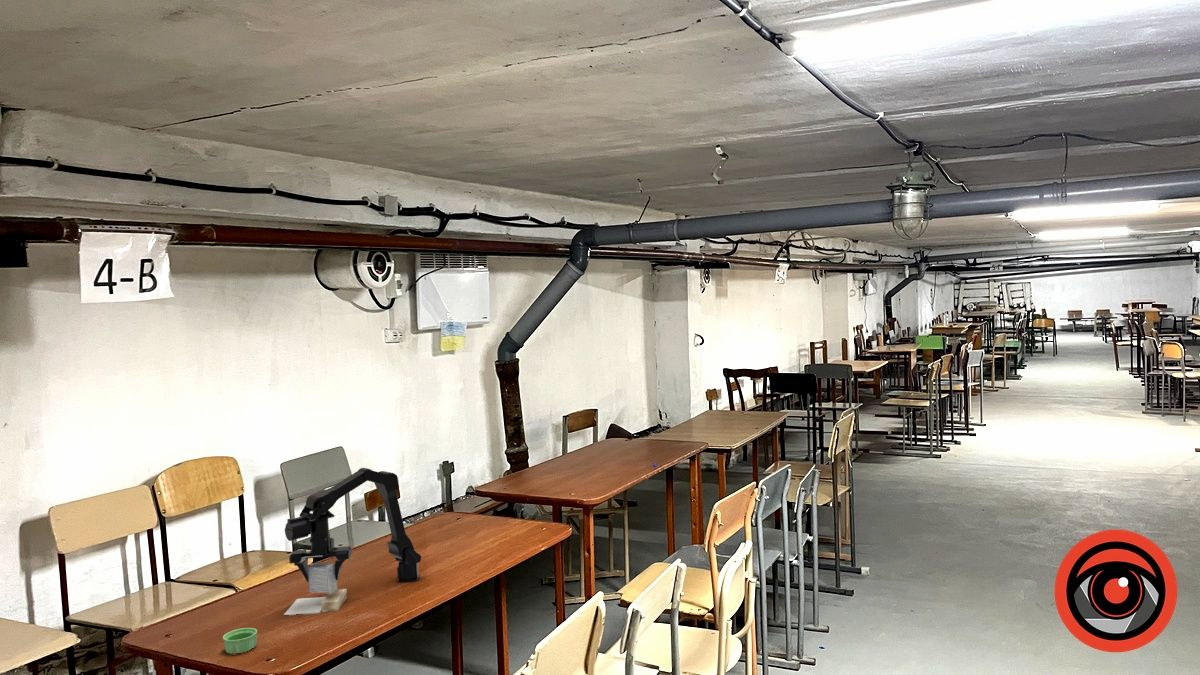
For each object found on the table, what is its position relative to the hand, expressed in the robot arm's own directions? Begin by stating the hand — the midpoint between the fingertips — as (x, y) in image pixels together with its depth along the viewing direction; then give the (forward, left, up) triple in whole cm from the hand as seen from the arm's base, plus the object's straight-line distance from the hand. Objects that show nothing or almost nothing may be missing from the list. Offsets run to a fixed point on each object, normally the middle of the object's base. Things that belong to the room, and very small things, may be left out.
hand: (322, 580), depth 261 cm
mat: (+5, 0, -8) cm, 9 cm away
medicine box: (0, 0, -4) cm, 4 cm away
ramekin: (+15, +31, -8) cm, 36 cm away
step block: (-3, 0, -8) cm, 9 cm away
